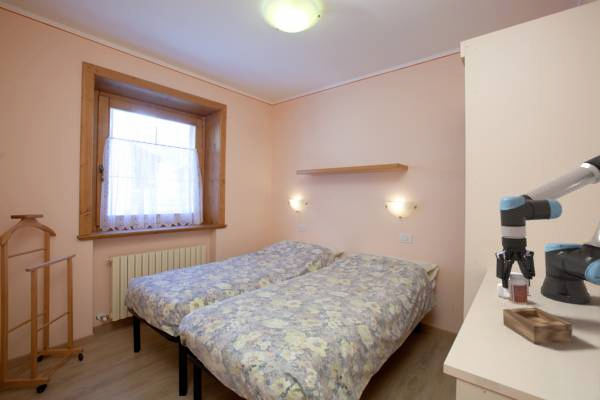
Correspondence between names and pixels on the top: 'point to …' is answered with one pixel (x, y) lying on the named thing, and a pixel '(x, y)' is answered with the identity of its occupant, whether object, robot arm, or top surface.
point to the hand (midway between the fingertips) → (516, 295)
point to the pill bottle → (518, 289)
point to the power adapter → (501, 291)
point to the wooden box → (537, 325)
